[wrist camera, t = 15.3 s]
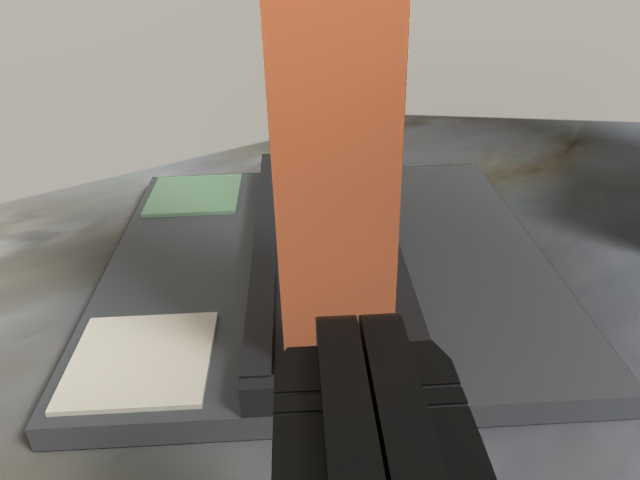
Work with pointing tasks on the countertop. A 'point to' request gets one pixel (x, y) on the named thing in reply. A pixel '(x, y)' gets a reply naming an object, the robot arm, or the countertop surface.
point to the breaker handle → (335, 154)
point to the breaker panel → (266, 317)
